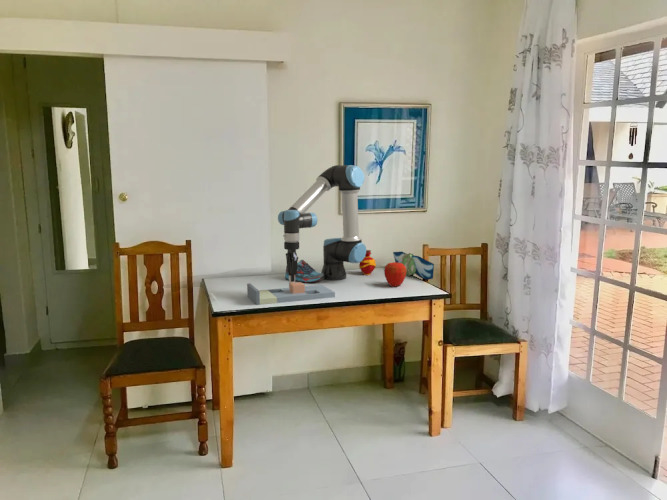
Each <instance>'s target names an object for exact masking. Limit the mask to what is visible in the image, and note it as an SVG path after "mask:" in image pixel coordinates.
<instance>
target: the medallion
mask: <svg viewBox="0 0 667 500" xmlns="http://www.w3.org/2000/svg"><path fill="white" fill-rule="evenodd" d="M392 254H393V258H394V262H395V261H396V262H397V263H402V264H403V265H404V266H405V267H406V270H407V271H406V276H408V277H410V276H414V275H416V276H418V277H419V278H420V279H424V280H429V281H430V280H433V279H434V271H435V270H434V268H435V263H433V262H431V261H429V260H427V259H425V258H423V257H421V256H419V255H414V253H406V252H404V251H393V253H392Z"/></svg>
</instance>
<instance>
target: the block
mask: <svg viewBox="0 0 667 500" xmlns="http://www.w3.org/2000/svg"><path fill="white" fill-rule="evenodd" d="M289 285H290V292H292V293H293V294H296V293H305V286H306V284H305V283H303V282H299V281H298V282H295V283H289V282H288V286H289Z"/></svg>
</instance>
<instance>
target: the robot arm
mask: <svg viewBox="0 0 667 500" xmlns="http://www.w3.org/2000/svg"><path fill="white" fill-rule="evenodd" d="M364 182H365V174H364V171H363V169H361V168H360V167H359V166H358V165H352V164H350V165H346V164H345V165H341V164H338V165H332V166H330V167H328V168H327V169H325V170H323V171H322V173H320V174H319V175H318V176H317V178H316V180H315V182H314V183H313V184H312V185H311V186H310V187H309V188H308V189H307V190H306V191H305V192H304V193H303V194H302V195H300V197H299V198H298V199H297V200H296V201H295V202H294V203H293V204H292V205H291V206H290V207H289V208H288V209H287V210H283V211H280V212H279V213H278V215H277V221H278V223H279V224H280V225H282V226H283V236H282V237H283V241H284V242H283V244H284V245H283V248H284V249H285V250H286V251H287V252H285V258H286V259H285V260H286V266H287V272H288V274H289V280H288V288H290V285H289V283H296V280H295V275H296V274H297V263H298V262H299V256H298V255H297V250H300V229H308V228H310V229H311V228H313V227H316V226H317V225H318V216H317V214H316V213H315V212H307V211H308V210H309V209H310V208H311V207H312V206H313V205H314V204H315V203H316V202H317V201H318V200H319V198H321V197H322V196H323V195H324V194H325V193H326V192H329V191H330V190H332V188H336V187H338V191H339V192H340V194H341V208H342V209H341V211H342V231H343V232H342V235H343V236H342V237H334V238H333V237H331V238H326V239H324V240H323V246H322V247H323V254H322V255H323V264H322V268H321V271H320V273H323V274H324V279H323V280H330V281H335V280H336V281H337V280H345V279H347V271H346V268H345V265H344V263H351V264H360V262H361V261H362V260H363V259H364V257H365V255H366V250H367V246H366V245H365V243H363V242H362V237H361V236H360V234H359V233H360V230H359V203H358V201H359V200H358V199H359V198H358V193H359V192H360V191H361V187H362V186H363V184H364Z"/></svg>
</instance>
